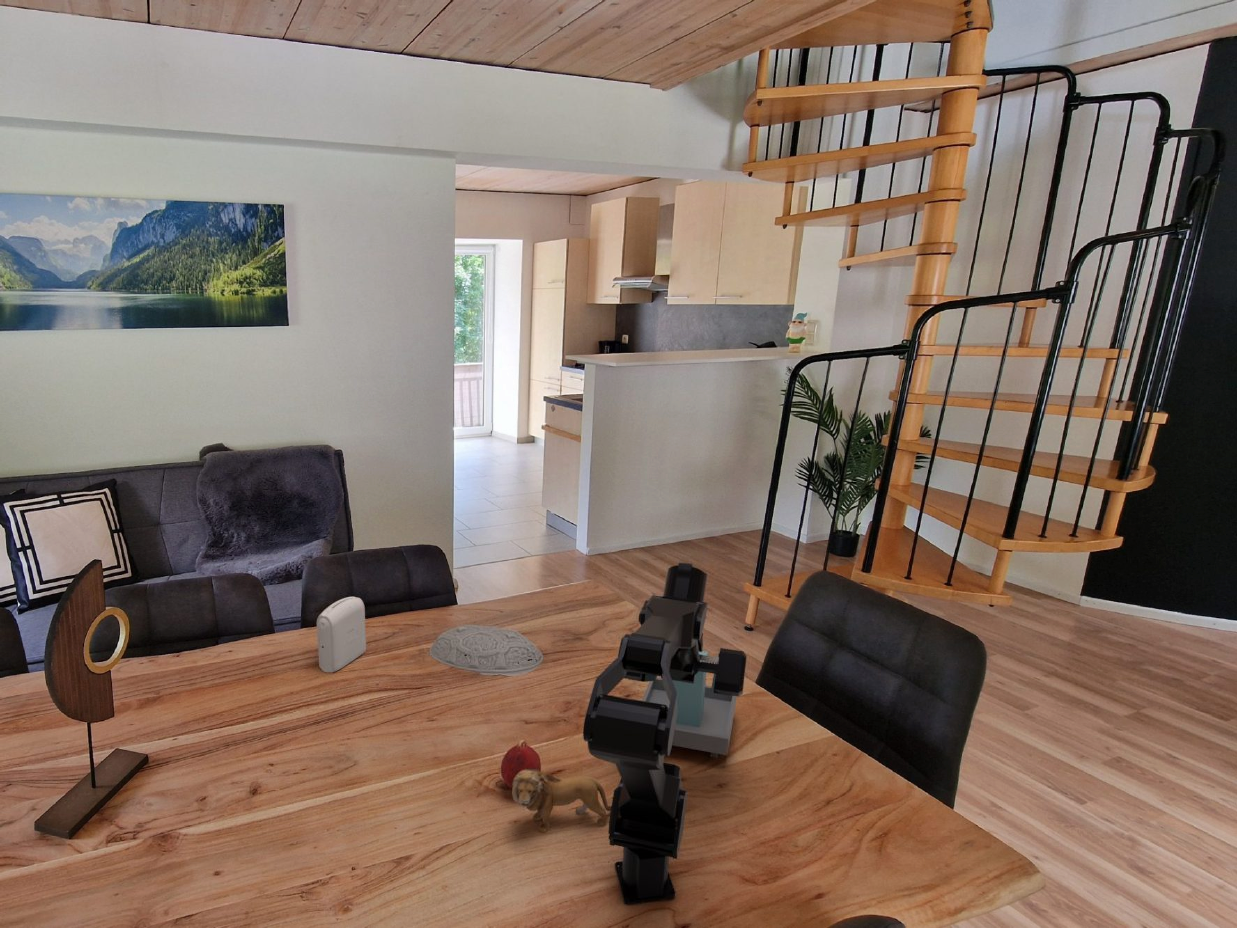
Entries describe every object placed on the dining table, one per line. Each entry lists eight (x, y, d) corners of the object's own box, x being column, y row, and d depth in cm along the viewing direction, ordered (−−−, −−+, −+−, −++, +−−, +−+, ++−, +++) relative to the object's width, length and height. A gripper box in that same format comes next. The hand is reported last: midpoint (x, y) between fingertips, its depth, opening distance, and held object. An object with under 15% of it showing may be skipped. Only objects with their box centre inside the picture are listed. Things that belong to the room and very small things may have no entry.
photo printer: (334, 675, 140) (331, 613, 137) (315, 670, 141) (312, 609, 138) (369, 651, 149) (367, 593, 146) (352, 647, 150) (349, 589, 148)
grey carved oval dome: (532, 681, 140) (532, 646, 139) (410, 668, 146) (409, 634, 145) (557, 652, 155) (557, 620, 154) (446, 641, 161) (445, 610, 160)
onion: (533, 805, 107) (534, 756, 105) (494, 798, 108) (495, 749, 106) (545, 780, 113) (546, 733, 111) (508, 774, 114) (509, 727, 112)
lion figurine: (515, 846, 99) (516, 786, 97) (507, 819, 104) (508, 762, 102) (619, 823, 104) (622, 766, 102) (607, 799, 109) (610, 744, 107)
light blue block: (699, 727, 123) (703, 665, 120) (669, 721, 124) (673, 660, 121) (703, 711, 127) (708, 651, 125) (674, 706, 129) (678, 647, 126)
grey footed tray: (726, 766, 117) (728, 739, 116) (631, 748, 121) (633, 722, 120) (734, 714, 132) (737, 690, 131) (650, 700, 135) (651, 676, 134)
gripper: (751, 603, 107) (750, 641, 120) (623, 585, 111) (635, 624, 124) (742, 679, 101) (742, 711, 114) (608, 658, 105) (622, 691, 118)
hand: (684, 681), depth 118 cm, fingers open, 9 cm apart
